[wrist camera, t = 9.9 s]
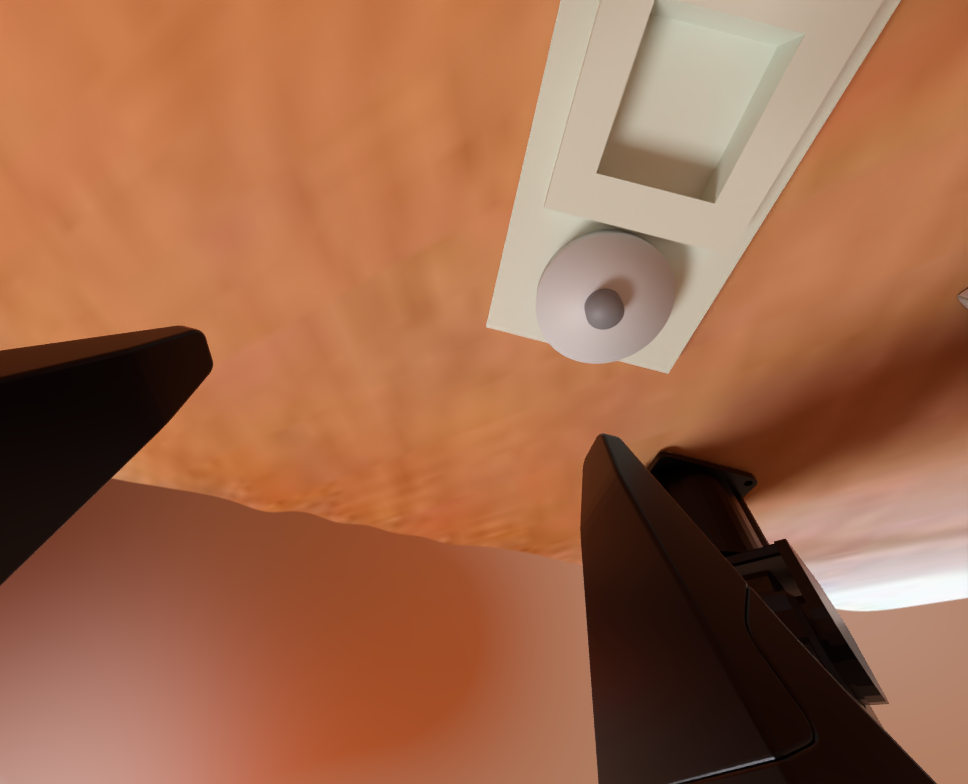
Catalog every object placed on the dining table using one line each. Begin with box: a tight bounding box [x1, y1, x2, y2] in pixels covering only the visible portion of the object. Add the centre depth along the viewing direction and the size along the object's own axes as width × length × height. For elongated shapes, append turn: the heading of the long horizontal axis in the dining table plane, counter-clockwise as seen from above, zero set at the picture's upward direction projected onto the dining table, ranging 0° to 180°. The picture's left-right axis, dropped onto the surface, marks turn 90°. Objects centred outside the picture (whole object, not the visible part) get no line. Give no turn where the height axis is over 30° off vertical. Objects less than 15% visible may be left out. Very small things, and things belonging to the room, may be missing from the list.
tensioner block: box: [486, 0, 901, 374], centre depth 14 cm, size 10×14×3 cm
